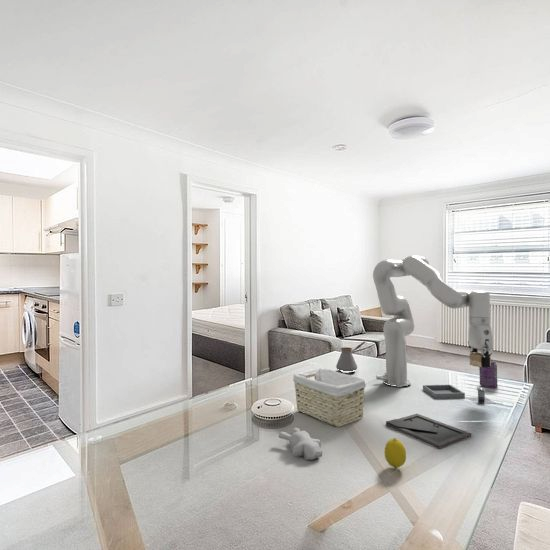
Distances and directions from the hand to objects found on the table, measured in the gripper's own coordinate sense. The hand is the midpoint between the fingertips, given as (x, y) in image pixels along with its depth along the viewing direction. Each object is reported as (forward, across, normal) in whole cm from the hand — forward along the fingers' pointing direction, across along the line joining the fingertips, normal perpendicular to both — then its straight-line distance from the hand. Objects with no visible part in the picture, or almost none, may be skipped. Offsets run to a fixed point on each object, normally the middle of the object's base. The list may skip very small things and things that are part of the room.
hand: (480, 364), depth 151 cm
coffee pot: (+16, +55, +40) cm, 70 cm away
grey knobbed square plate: (+15, 0, 0) cm, 15 cm away
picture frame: (+16, -27, +34) cm, 46 cm away
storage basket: (+16, -10, +64) cm, 67 cm away
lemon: (+15, -50, +52) cm, 74 cm away
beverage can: (+15, +20, -15) cm, 29 cm away
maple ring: (0, 0, 0) cm, 0 cm away
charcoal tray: (+15, +10, +11) cm, 21 cm away
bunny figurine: (+16, -39, +77) cm, 88 cm away
